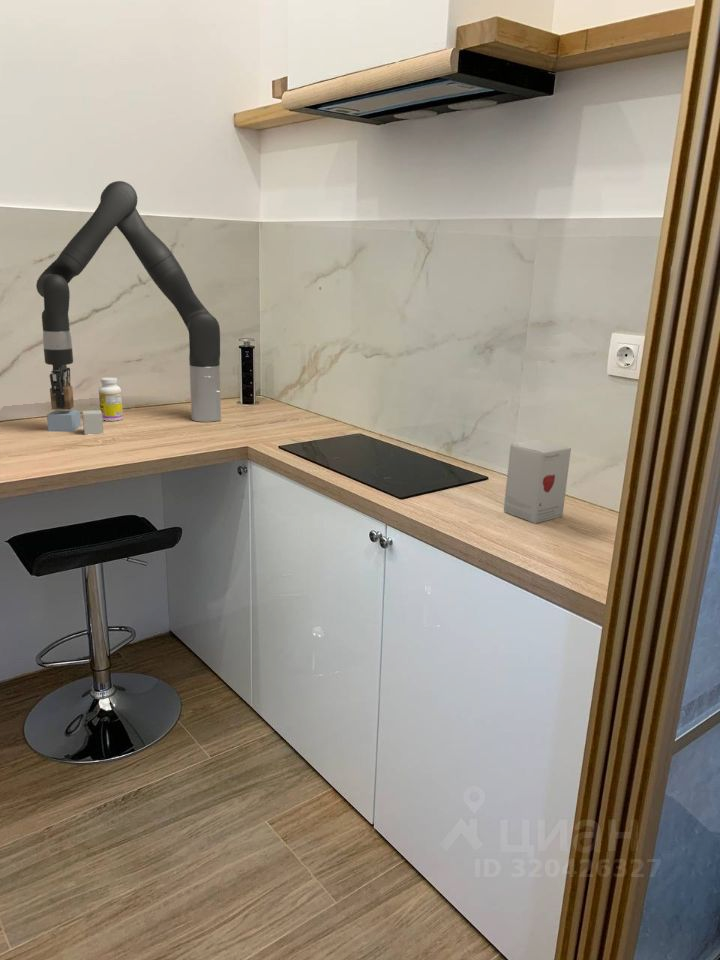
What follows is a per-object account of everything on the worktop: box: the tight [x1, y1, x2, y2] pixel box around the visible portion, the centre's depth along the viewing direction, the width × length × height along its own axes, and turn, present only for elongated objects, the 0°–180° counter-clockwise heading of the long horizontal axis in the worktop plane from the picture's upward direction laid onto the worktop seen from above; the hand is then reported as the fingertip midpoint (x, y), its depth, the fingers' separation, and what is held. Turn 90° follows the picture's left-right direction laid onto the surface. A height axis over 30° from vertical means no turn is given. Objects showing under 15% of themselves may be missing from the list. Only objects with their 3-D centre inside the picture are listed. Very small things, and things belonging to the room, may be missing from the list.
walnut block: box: [49, 385, 75, 411], centre depth 210 cm, size 5×5×6 cm
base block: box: [46, 409, 82, 433], centre depth 212 cm, size 7×7×5 cm
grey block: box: [81, 409, 104, 436], centre depth 208 cm, size 5×5×6 cm
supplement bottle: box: [98, 377, 124, 422], centre depth 224 cm, size 7×7×13 cm
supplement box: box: [503, 439, 572, 524], centre depth 150 cm, size 9×9×15 cm
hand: (63, 405), depth 210 cm, fingers closed on walnut block, 5 cm apart
